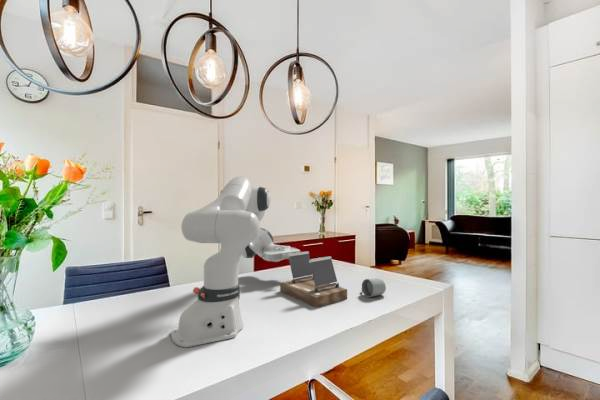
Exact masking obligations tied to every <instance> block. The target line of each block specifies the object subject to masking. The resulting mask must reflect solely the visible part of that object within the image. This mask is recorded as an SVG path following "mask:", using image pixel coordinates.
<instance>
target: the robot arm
mask: <svg viewBox="0 0 600 400" xmlns="http://www.w3.org/2000/svg"><path fill="white" fill-rule="evenodd" d="M271 198H272V197H271V194H270V190H268V188H266V187H262V186H259V187H257V186H256V185H252V183H251V181H250V180H249V179H248V178H247V177H243V176H235V177H233V178H232V179H230V180H229V181H228V182H227V183H226V185H225V186H224V187H223V189H222V190H220V193H219V195H218V197H217V198H216V199H215V200H213V201H212V202H210V203H209V204H207V205H205V206H203V207H202V208H199V209H197V210H193V211H191V212H188V213H186V214H185V216H184V217H183V219H182V220H181V234H182V236H183V237H184V238H185V240H187V241H188V242H189V241H190V242H193V243H198V244H220V251H218V252H216V253H215V254H212V255H210V256H209V257H208V258H207V259H206V260H205V262H204V263H203V286H201V288H199V287H198V286H195V287H193V289H192V292H193V293H194V294H195V295H197V299H196V300H195V301H193V302H192V304H190V305H189V306H188V307H187V308H186V309H185V310H184V311H183V312H182V313H181V314H180V315H179V320H178V326H177V327H174V328H172V330H171V331H170V338H171V340H172V342H173V343H174V344H175V345H177V346H179V347H182V348H190V347H194V346H200V345H204V344H209V343H215V342H219V341H223V340H228V339H233V338H236V337H237V336H238V333H239V332H240V331H241V330H242V329H243V328H244V322H243V318H242V315H241V307H240V296H241V290H240V288H241V287H240V283H239V268H240V260H241V257H243V258H246V259H252V258H254V257H255V256H256V255H258V257H260V258H262V259H263V261H267V262H275V263H278V262H280V261H283V260H289V258H288V254H292V253H299V252H301V250H300V249H298V248H296V247H291V246H290V245H282V244H281V245H280V244H276V243H275V244H274V242H275V241H274V237H273V235H272V233H271V232H270V231H269V230H267V229H266V228H262V227H261V225H260V221H262V219H263V218H264V216H265V212H266V211H267V210H268V209H269V208H270V205H271Z"/></svg>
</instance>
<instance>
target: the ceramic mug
mask: <svg viewBox="0 0 600 400" xmlns="http://www.w3.org/2000/svg"><path fill="white" fill-rule="evenodd" d="M386 289H387V287H386V282H385V281H384V280H383V279H382V278H377V277H375V278H374V277H373V278H365V279H363V281H362V283H361V292H362V293H363V296H365V297H366V298H371V297H377V296H382V295H383V294H385V292H386Z"/></svg>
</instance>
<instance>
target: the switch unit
mask: <svg viewBox="0 0 600 400" xmlns="http://www.w3.org/2000/svg"><path fill="white" fill-rule="evenodd" d="M279 285H280V292H281V293H283V294H285V295H288V296H290V297H293V298H294V299H297V300H299V301H302V302H304V303H306V304H308V305H310V306H312V307H315V308H319V307H323V306H326V305H329V304H333V303H337V302H340V301H344V300H348V289H347V288H344V287H342V286H340V284H339V281H337V282H333V283H329V284H325V285H321V286H316V287H315V283H314V279H313V275H309V276H304V277H299V278H294V279H293V278H292V279H291V280H287V281H282V282H279Z"/></svg>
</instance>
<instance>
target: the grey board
mask: <svg viewBox="0 0 600 400" xmlns="http://www.w3.org/2000/svg"><path fill="white" fill-rule="evenodd" d="M288 258H289V259H288V261H289V267H290V271H291V276H292V279H297V278H302V277H307V276H312V270H311V266H310V263H309V260H311V258H310V252H309V251H308V250H307V251H300V252H299V253H292V254H288Z"/></svg>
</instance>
